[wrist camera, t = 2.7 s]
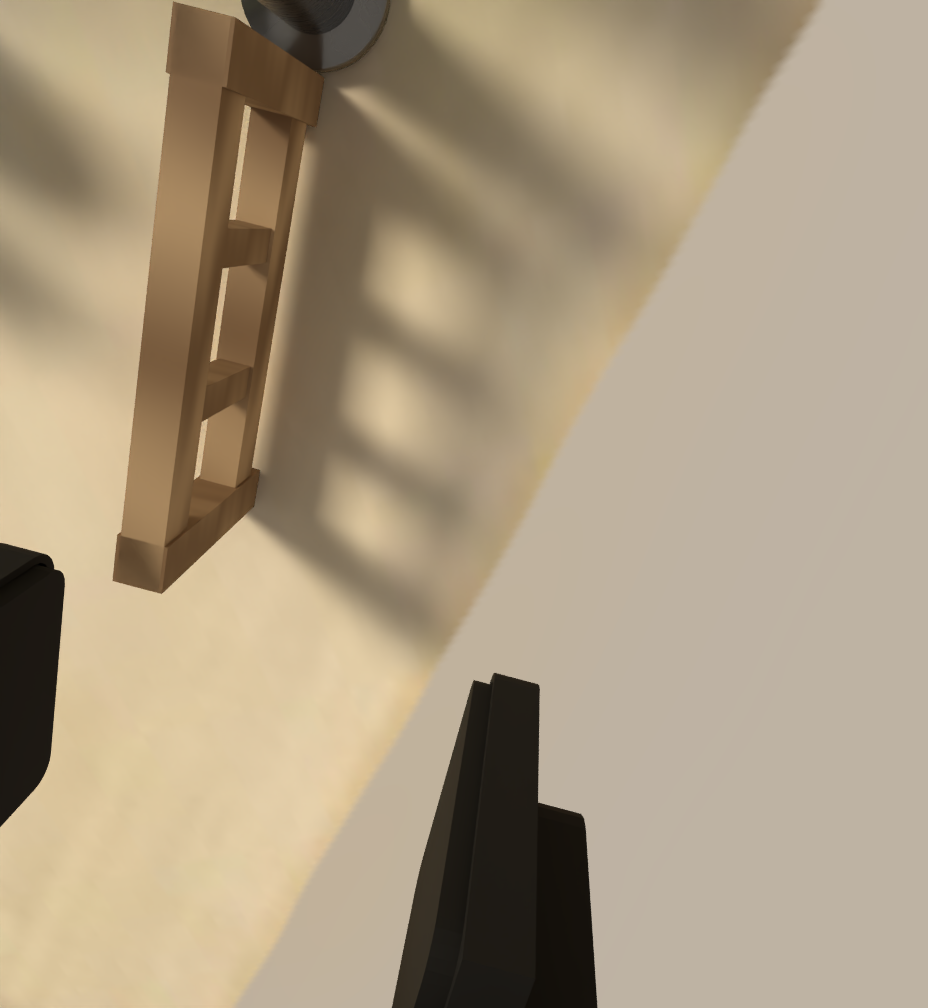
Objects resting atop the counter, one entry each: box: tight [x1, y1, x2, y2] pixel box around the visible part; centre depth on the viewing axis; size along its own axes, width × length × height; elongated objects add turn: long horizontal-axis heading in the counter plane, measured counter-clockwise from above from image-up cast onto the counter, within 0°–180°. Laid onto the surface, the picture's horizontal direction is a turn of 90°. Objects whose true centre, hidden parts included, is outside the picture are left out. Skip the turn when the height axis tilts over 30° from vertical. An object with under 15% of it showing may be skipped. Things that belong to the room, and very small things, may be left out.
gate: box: [113, 2, 324, 594], centre depth 24 cm, size 14×1×8 cm, turn 166°
